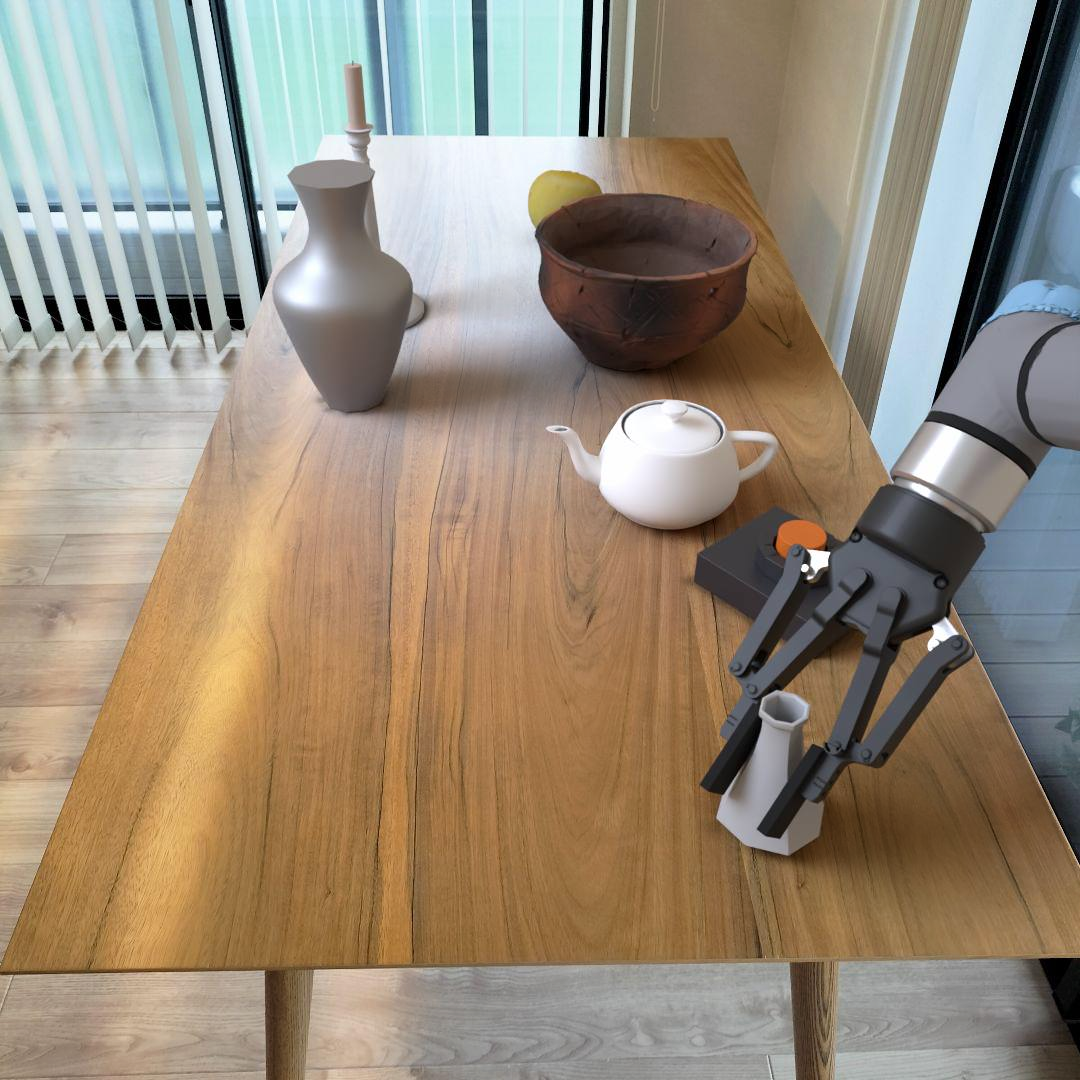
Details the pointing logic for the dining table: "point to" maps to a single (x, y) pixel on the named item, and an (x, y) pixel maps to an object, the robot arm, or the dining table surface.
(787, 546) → the power button
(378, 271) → the vase
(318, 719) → the dining table surface
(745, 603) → the button box
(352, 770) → the dining table surface
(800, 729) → the flask
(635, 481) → the teapot
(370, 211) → the candlestick
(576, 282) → the bowl
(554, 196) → the fruit
